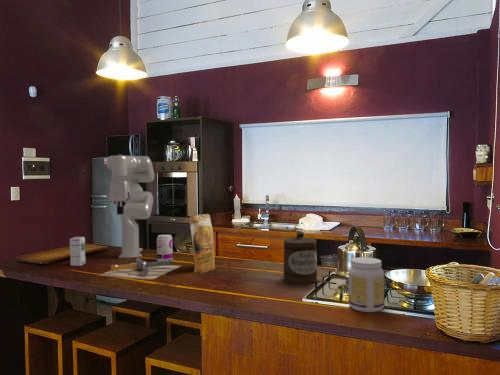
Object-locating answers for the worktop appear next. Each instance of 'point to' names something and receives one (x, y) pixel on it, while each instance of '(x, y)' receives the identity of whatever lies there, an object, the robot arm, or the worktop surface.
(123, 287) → the worktop surface
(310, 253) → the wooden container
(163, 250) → the supplement can
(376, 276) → the supplement tub
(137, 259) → the capstan
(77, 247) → the syrup box
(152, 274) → the striped dish towel
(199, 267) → the pancake mix bag
